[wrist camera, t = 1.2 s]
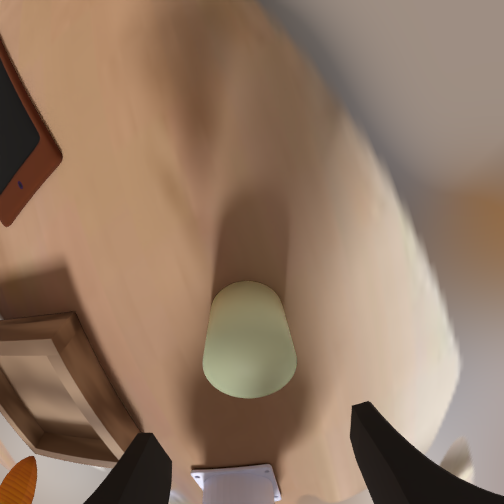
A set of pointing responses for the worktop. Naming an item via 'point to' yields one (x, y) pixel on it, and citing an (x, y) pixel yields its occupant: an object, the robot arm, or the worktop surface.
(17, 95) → the smartphone
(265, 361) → the green cylinder
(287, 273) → the worktop surface
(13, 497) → the carrot
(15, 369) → the walnut tray
